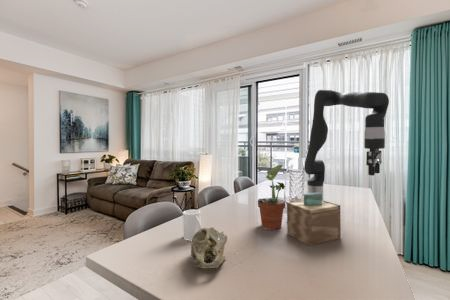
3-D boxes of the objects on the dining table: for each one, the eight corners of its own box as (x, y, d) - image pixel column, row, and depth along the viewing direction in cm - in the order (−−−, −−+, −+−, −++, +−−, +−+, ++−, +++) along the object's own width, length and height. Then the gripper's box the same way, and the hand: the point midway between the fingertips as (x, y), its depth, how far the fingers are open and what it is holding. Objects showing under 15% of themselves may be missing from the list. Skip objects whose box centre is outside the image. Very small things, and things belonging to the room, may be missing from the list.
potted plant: (292, 226, 115) (292, 159, 115) (274, 233, 106) (273, 161, 105) (269, 218, 127) (268, 158, 127) (251, 225, 118) (250, 159, 117)
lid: (289, 205, 106) (288, 192, 106) (314, 201, 112) (314, 189, 112) (310, 213, 93) (310, 198, 93) (338, 208, 99) (338, 194, 99)
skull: (235, 278, 76) (193, 282, 69) (214, 247, 94) (180, 248, 88) (241, 247, 75) (199, 248, 69) (219, 221, 93) (185, 221, 87)
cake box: (287, 233, 106) (286, 202, 106) (317, 227, 113) (316, 198, 113) (308, 245, 93) (308, 210, 93) (340, 238, 100) (340, 205, 100)
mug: (207, 240, 99) (207, 214, 99) (189, 245, 94) (189, 217, 94) (196, 232, 109) (196, 208, 109) (180, 236, 104) (179, 211, 104)
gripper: (369, 138, 105) (368, 172, 106) (359, 137, 96) (359, 175, 96) (388, 137, 100) (388, 173, 100) (380, 137, 90) (380, 176, 91)
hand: (374, 174), depth 98 cm, fingers open, 8 cm apart
